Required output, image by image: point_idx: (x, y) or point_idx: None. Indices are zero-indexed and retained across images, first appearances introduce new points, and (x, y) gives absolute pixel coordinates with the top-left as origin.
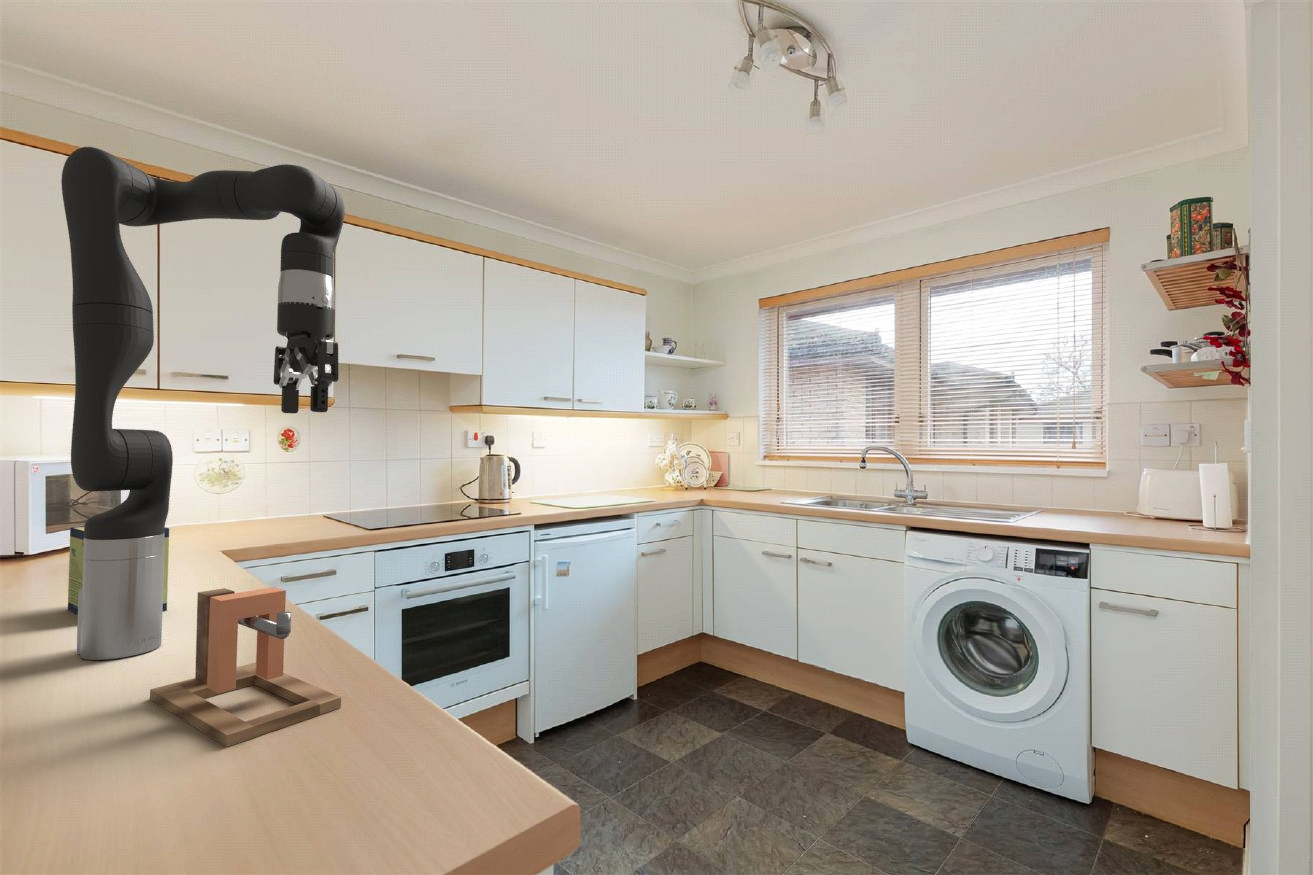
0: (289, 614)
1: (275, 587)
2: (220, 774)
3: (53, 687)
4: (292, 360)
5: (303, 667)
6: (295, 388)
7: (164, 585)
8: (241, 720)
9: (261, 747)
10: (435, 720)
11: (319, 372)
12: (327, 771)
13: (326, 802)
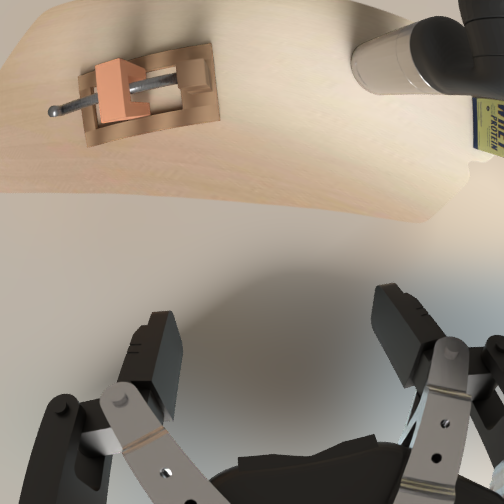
0: (49, 115)
1: (122, 117)
2: (53, 73)
3: (305, 8)
4: (388, 495)
5: (198, 152)
6: (412, 383)
7: (489, 150)
8: (93, 85)
9: (67, 93)
10: (41, 187)
11: (59, 424)
12: (24, 120)
13: (4, 114)
